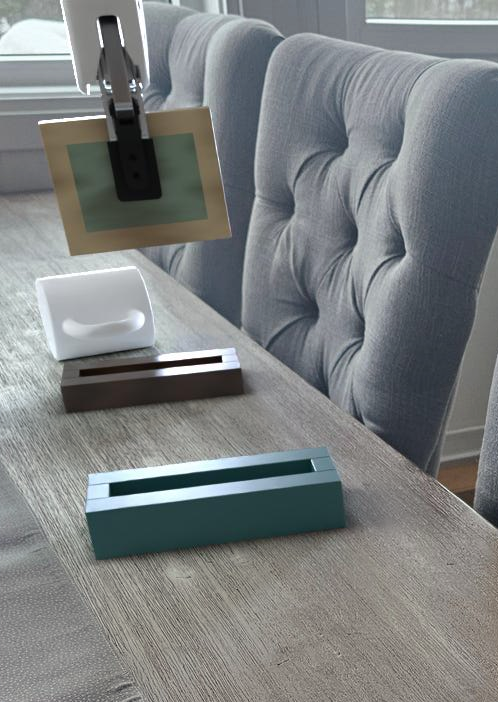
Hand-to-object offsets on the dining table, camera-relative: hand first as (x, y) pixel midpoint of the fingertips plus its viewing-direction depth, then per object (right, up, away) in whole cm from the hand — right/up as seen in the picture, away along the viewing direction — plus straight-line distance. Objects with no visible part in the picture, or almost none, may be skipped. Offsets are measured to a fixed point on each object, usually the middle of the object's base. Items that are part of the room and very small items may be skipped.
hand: (139, 195), depth 84 cm
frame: (0, -3, +2) cm, 4 cm away
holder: (+7, -25, -4) cm, 26 cm away
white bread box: (-13, -3, +32) cm, 35 cm away
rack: (-5, -9, +22) cm, 24 cm away
